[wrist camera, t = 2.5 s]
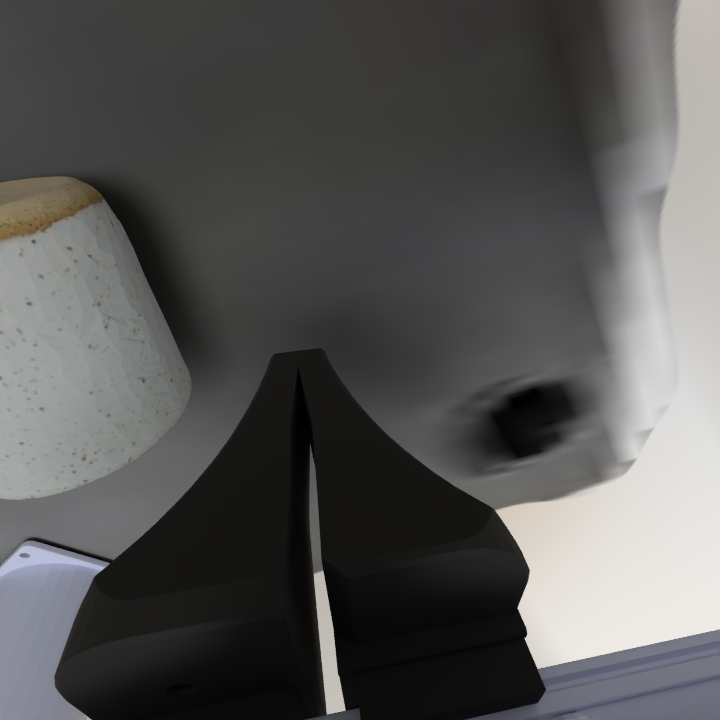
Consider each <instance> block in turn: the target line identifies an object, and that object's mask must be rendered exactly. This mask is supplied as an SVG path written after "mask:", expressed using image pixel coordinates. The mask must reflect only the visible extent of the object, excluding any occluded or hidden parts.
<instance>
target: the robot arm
mask: <svg viewBox="0 0 720 720" xmlns="http://www.w3.org/2000/svg"><path fill="white" fill-rule="evenodd" d="M310 444H311V449H312V454H313V459H314V464H315V468H316V481H317V495H318V509H319V524H320V540H321V558H322V565H323V570H324V576H325V582H326V588H327V593H328V599H329V605H330V611H331V616H332V622H333V628H334V638H335V647H336V658H337V666H338V667H337V668H338V675H339V676H340V682H341V687H342V692H343V698H344V703H345V708H346V711H343V712H338V713H333V714H329V715H327V713H326V702H325V693H324V683H323V672H322V662H321V651H320V641H319V630H318V619H317V609H316V598H315V588H314V587H315V586H314V575H313V563H312V552H311V540H310V524H309V481H310ZM529 571H530V570H529V567H528V565H527V563H526V560H525V558H524V556H523V554H522V552H521V550H520V548H519V546H518V544H517V543H516V541H515V539H514V538H513V536H512V535H511V533H510V532H509V530H508V529H507V527H506V526H505V524H504V523H503V521H502V520H501V518H500V517H499V516H498V514H497V513H496V511H495V510H494V509H493V508H492V507H490V506H488V505H486V504H485V503H483V502H481V501H479V500H478V499H476V498H474V497H472V496H471V495H469V494H467V493H465V492H464V491H462V490H460V489H458V488H457V487H455V486H453V485H452V484H450V483H449V482H447V481H446V480H444V479H443V478H442V477H440V476H439V475H437V474H436V473H434V472H433V471H431V470H430V469H429V468H427V467H426V466H425V465H424V464H422V463H421V462H420V461H418V460H417V459H416V458H414V457H413V456H412V455H410V454H409V453H408V452H407V451H405V450H404V449H403V448H402V447H401V446H400V445H398V444H397V443H396V442H395V441H394V440H393V439H392V438H390V437H389V436H388V435H387V434H386V433H385V432H384V431H383V430H382V429H381V428H380V427H379V426H378V425H377V424H376V423H375V422H374V421H373V420H372V419H371V418H370V417H369V415H368V414H367V413H366V412H365V411H364V410H363V409H362V407H361V406H360V405H359V404H358V403H357V401H356V400H355V399H354V398H353V397H352V395H351V394H350V392H349V391H348V390H347V388H346V387H345V386H344V384H343V383H342V382H341V380H340V379H339V377H338V376H337V374H336V372H335V371H334V369H333V367H332V366H331V364H330V362H329V360H328V358H327V355H326V353H325V351H324V350H323V349H321V348H318V349H310V350H302V351H294V352H285V353H277V354H274V355H273V356H272V357H271V359H270V363H269V365H268V368H267V371H266V373H265V375H264V378H263V380H262V382H261V384H260V386H259V388H258V390H257V392H256V394H255V396H254V398H253V400H252V402H251V404H250V406H249V408H248V409H247V411H246V413H245V414H244V416H243V418H242V419H241V421H240V423H239V424H238V426H237V428H236V429H235V431H234V432H233V434H232V435H231V437H230V438H229V440H228V441H227V443H226V444H225V445H224V447H223V448H222V450H221V451H220V452H219V454H218V455H217V456H216V458H215V459H214V460H213V462H212V463H211V464H210V465H209V466H208V468H207V469H206V470H205V471H204V472H203V474H202V475H201V476H200V477H199V478H198V480H197V481H196V482H195V483H194V484H193V485H192V487H191V488H190V489H189V490H188V491H187V492H186V493H185V494H184V495H183V496H182V498H181V499H180V500H179V501H178V502H177V503H176V504H175V505H174V506H173V507H172V508H171V509H170V510H169V511H168V512H167V513H166V514H165V515H164V516H163V517H162V518H161V519H160V520H159V521H158V522H157V523H156V524H155V525H154V526H153V527H151V528H150V529H149V530H148V531H147V532H146V533H145V534H144V535H143V536H142V537H141V538H139V539H138V540H137V541H136V542H135V543H134V544H132V545H131V546H130V547H129V548H128V549H126V550H125V551H124V552H123V553H122V554H121V555H119V556H118V557H117V558H116V559H115V560H114V561H112V562H111V563H108V562H105V561H101V560H98V559H94V558H91V557H88V556H84V555H81V554H77V553H74V552H71V551H67V550H64V549H60V548H57V547H54V546H50V545H47V544H43V543H40V542H37V541H26V542H24V543H22V544H21V545H20V546H19V547H18V548H17V549H16V550H15V551H14V552H13V553H12V554H11V555H10V556H9V557H8V558H7V559H6V560H5V561H4V562H3V563H2V564H1V565H0V720H86V719H87V716H88V717H89V718H90V719H92V720H720V630H715V631H711V632H706V633H702V634H697V635H692V636H688V637H683V638H679V639H674V640H670V641H665V642H661V643H655V644H651V645H647V646H642V647H637V648H633V649H628V650H623V651H619V652H614V653H610V654H605V655H600V656H596V657H591V658H586V659H582V660H578V661H573V662H568V663H563V664H559V665H555V666H550V667H545V668H540V669H537V667H536V665H535V662H534V660H533V658H532V655H531V653H530V651H529V648H528V646H527V644H526V641H525V639H524V638H525V637H526V636H527V630H526V627H525V625H524V622H523V620H522V618H521V615H520V613H519V611H518V609H517V607H518V605H519V602H520V600H521V597H522V595H523V592H524V590H525V587H526V585H527V582H528V578H529Z"/></svg>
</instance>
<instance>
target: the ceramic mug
mask: <svg viewBox="0 0 720 720" xmlns="http://www.w3.org/2000/svg"><path fill="white" fill-rule="evenodd" d="M191 382H192V381H191V377H190V374H189V370H188V368H187V366H186V364H185V362H184V360H183V358H182V356H181V354H180V351H179V349H178V347H177V345H176V342H175V340H174V338H173V335H172V333H171V331H170V329H169V326H168V324H167V322H166V320H165V318H164V316H163V314H162V311H161V309H160V307H159V305H158V303H157V301H156V299H155V297H154V294H153V292H152V290H151V288H150V286H149V284H148V282H147V280H146V278H145V275H144V273H143V271H142V268H141V266H140V263H139V261H138V258H137V256H136V254H135V251H134V249H133V247H132V245H131V243H130V241H129V239H128V236H127V234H126V232H125V230H124V228H123V226H122V224H121V223H120V221H119V220H118V218H117V217H116V216H115V214H114V213H113V211H112V210H111V208H110V207H109V205H108V204H107V202H106V201H105V199H104V198H103V196H102V195H101V194H100V193H99V192H98V191H97V190H96V189H95V188H94V187H92V186H90V185H89V184H86V183H84V182H82V181H80V180H78V179H76V178H73V177H65V176H55V177H40V178H28V179H21V180H13V181H7V182H0V499H10V500H23V499H28V498H41V497H46V496H50V495H54V494H58V493H61V492H65V491H68V490H72V489H75V488H77V487H80V486H82V485H85V484H87V483H90V482H92V481H94V480H97V479H99V478H101V477H104V476H106V475H108V474H110V473H112V472H114V471H116V470H118V469H120V468H121V467H123V466H125V465H127V464H128V463H130V462H132V461H133V460H135V459H136V458H137V457H139V456H140V455H141V454H143V453H144V452H145V451H147V450H148V449H149V448H150V447H152V446H153V445H154V444H155V443H157V442H158V441H159V440H160V439H161V438H162V437H164V436H165V435H166V434H167V433H168V431H169V430H170V429H171V428H172V427H173V426H174V425H175V423H176V422H177V421H178V419H179V418H180V416H181V415H182V413H183V411H184V410H185V408H186V406H187V403H188V401H189V398H190V393H191Z"/></svg>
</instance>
